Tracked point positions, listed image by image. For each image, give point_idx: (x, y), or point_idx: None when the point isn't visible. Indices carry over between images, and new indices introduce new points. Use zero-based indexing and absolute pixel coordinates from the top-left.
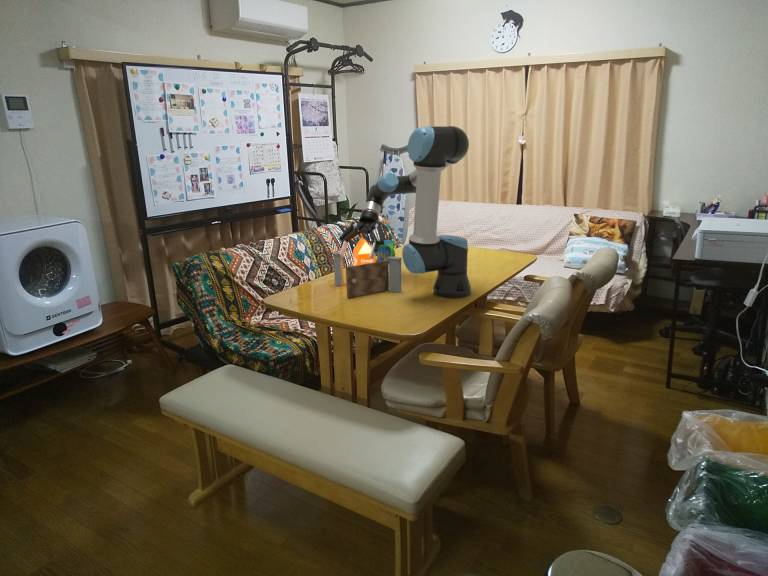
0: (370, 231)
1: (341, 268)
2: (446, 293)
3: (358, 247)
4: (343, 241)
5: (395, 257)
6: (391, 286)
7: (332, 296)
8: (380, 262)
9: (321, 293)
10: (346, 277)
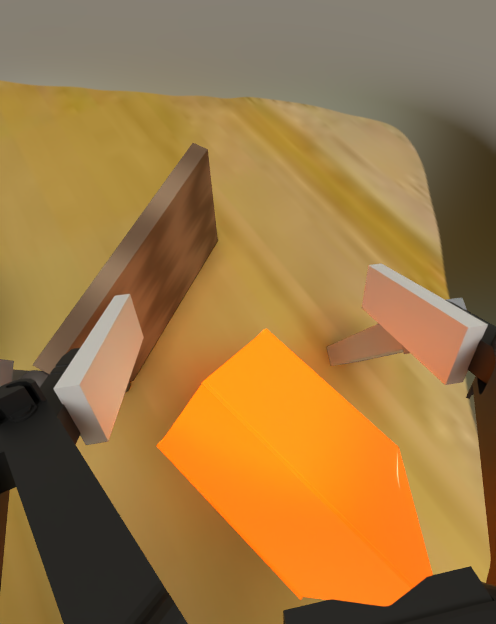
0: (151, 617)
1: (360, 344)
2: None
3: (320, 408)
4: (493, 336)
5: None
6: None
7: (271, 234)
8: (62, 325)
9: (326, 244)
10: (209, 190)
